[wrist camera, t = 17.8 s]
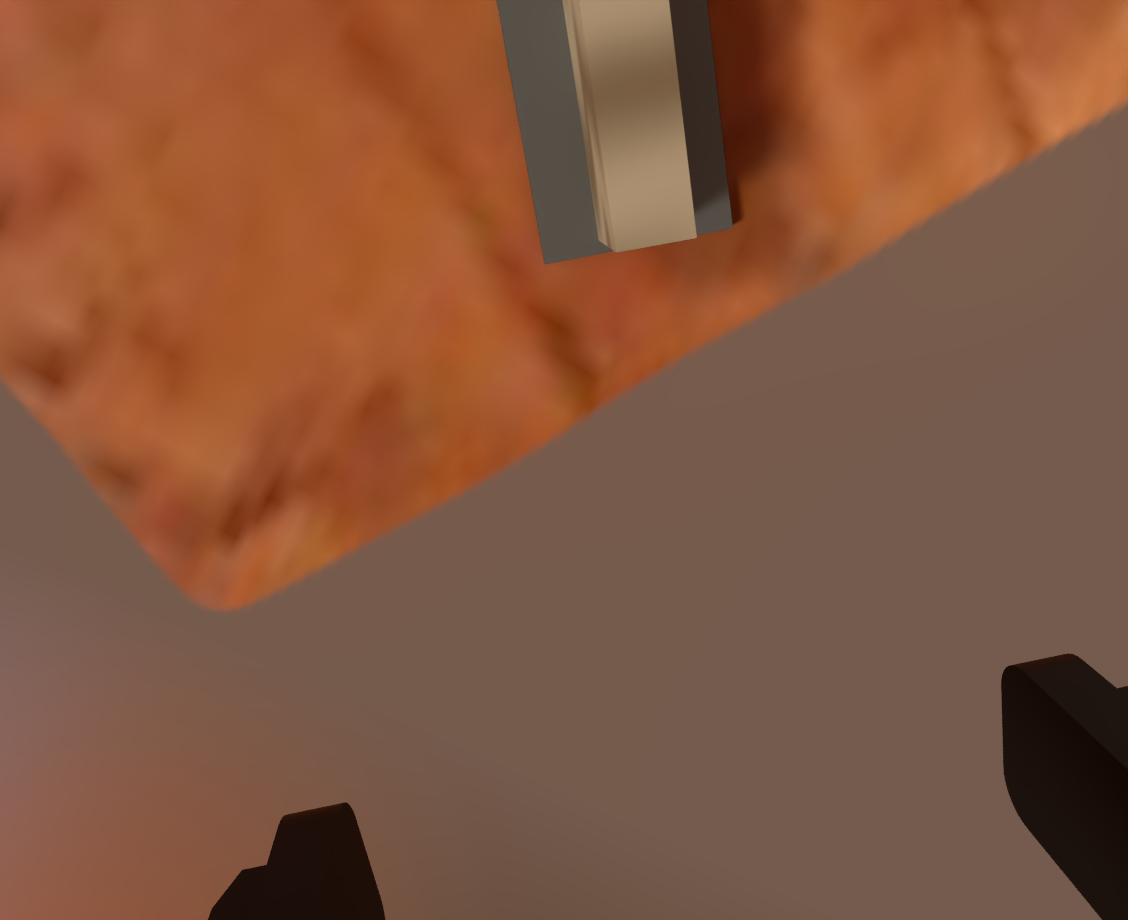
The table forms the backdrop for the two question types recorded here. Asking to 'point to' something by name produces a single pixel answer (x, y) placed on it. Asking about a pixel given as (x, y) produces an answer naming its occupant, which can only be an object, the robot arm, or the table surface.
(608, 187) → the stepped beige bar
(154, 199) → the table surface
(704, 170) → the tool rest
